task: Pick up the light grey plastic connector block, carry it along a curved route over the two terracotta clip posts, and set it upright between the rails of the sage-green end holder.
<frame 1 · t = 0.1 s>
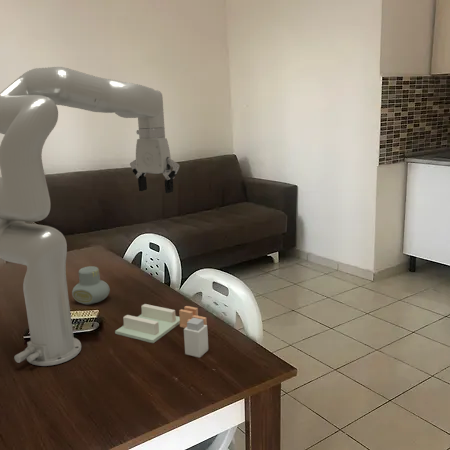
hand: (156, 191, 149), 31 cm above the table, tool pointing down, fingers open, 9 cm apart
end holder: (150, 326, 130), on the table
air freshener: (92, 301, 149), on the table
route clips: (193, 330, 127), on the table
connector: (196, 351, 117), on the table
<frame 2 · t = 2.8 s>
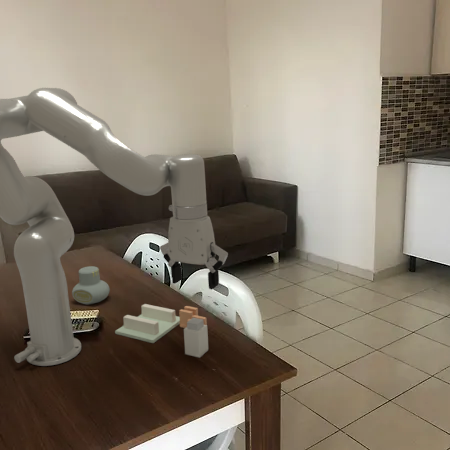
hand: (195, 284, 112), 17 cm above the table, tool pointing down, fingers open, 9 cm apart
nothing on the table moved.
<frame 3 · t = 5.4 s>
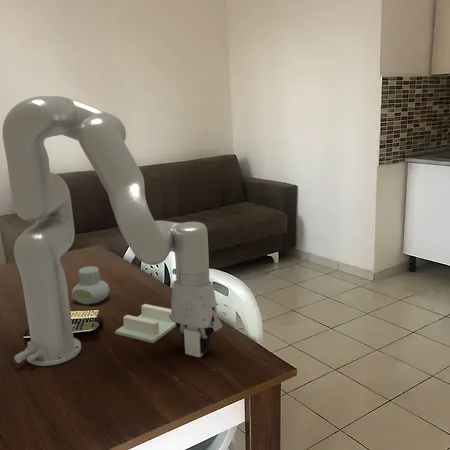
hand: (196, 348, 117), 1 cm above the table, tool pointing down, fingers closed on connector, 4 cm apart
connector: (196, 351, 117), on the table, touching gripper
everything else where it was.
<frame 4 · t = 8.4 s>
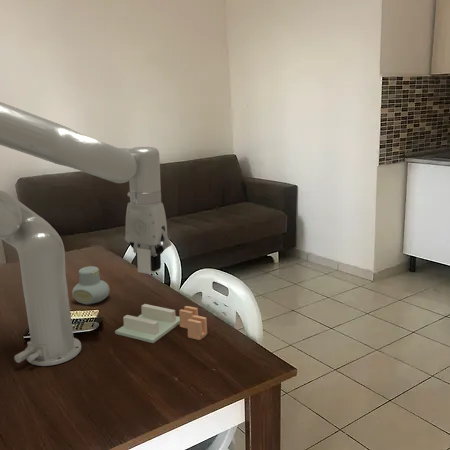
hand: (148, 267, 126), 17 cm above the table, tool pointing down, fingers closed on connector, 4 cm apart
connector: (149, 270, 126), point 16 cm above the table, touching gripper
everything else where it was.
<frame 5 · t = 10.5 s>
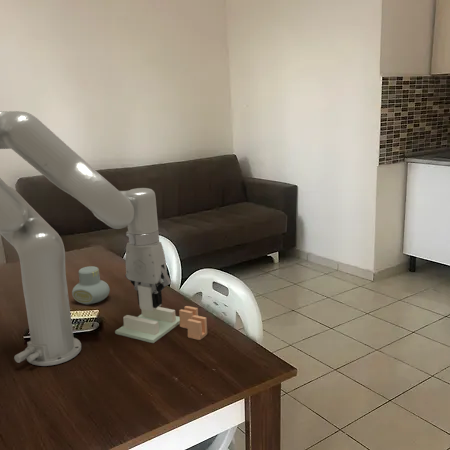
hand: (150, 303, 129), 6 cm above the table, tool pointing down, fingers closed on connector, 4 cm apart
connector: (150, 306, 129), point 6 cm above the table, touching gripper
everything else where it was.
when the fingers open (3 cm above the table, at t = 11.9 s): connector drops 2 cm, resting on end holder.
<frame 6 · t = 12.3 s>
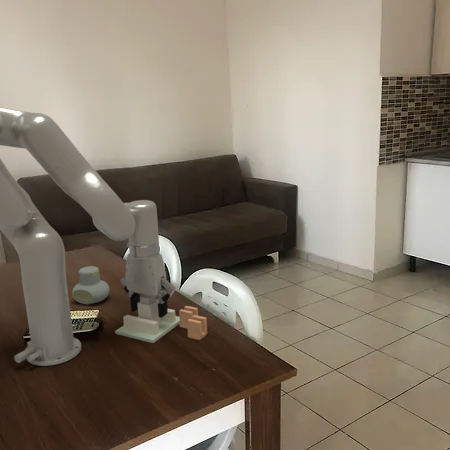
hand: (149, 312, 129), 4 cm above the table, tool pointing down, fingers open, 8 cm apart
connector: (150, 323, 130), point 1 cm above the table, touching end holder
everything else where it was.
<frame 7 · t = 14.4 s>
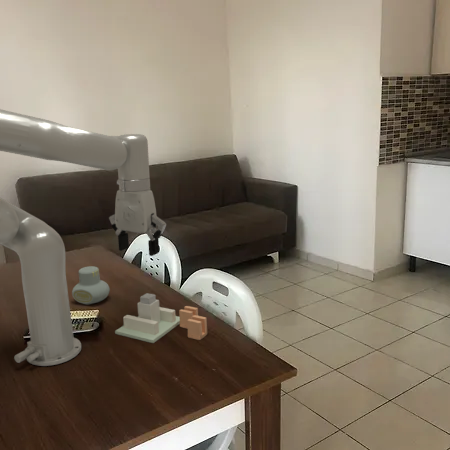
hand: (138, 251, 125), 21 cm above the table, tool pointing down, fingers open, 9 cm apart
nothing on the table moved.
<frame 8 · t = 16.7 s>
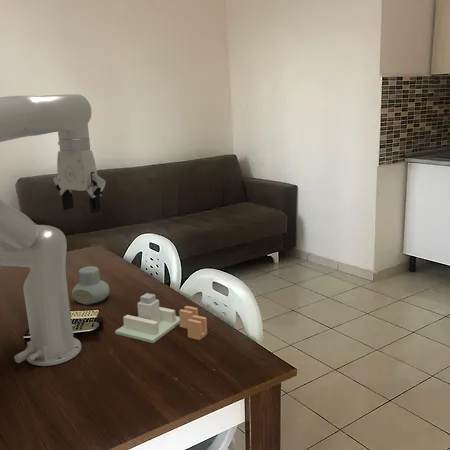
hand: (82, 210, 130), 30 cm above the table, tool pointing down, fingers open, 9 cm apart
nothing on the table moved.
at the end: connector 0.1 cm off-centre on the end holder, point 0.8 cm above the end holder's base; connector tilted 0°; the gripper is holding nothing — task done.
